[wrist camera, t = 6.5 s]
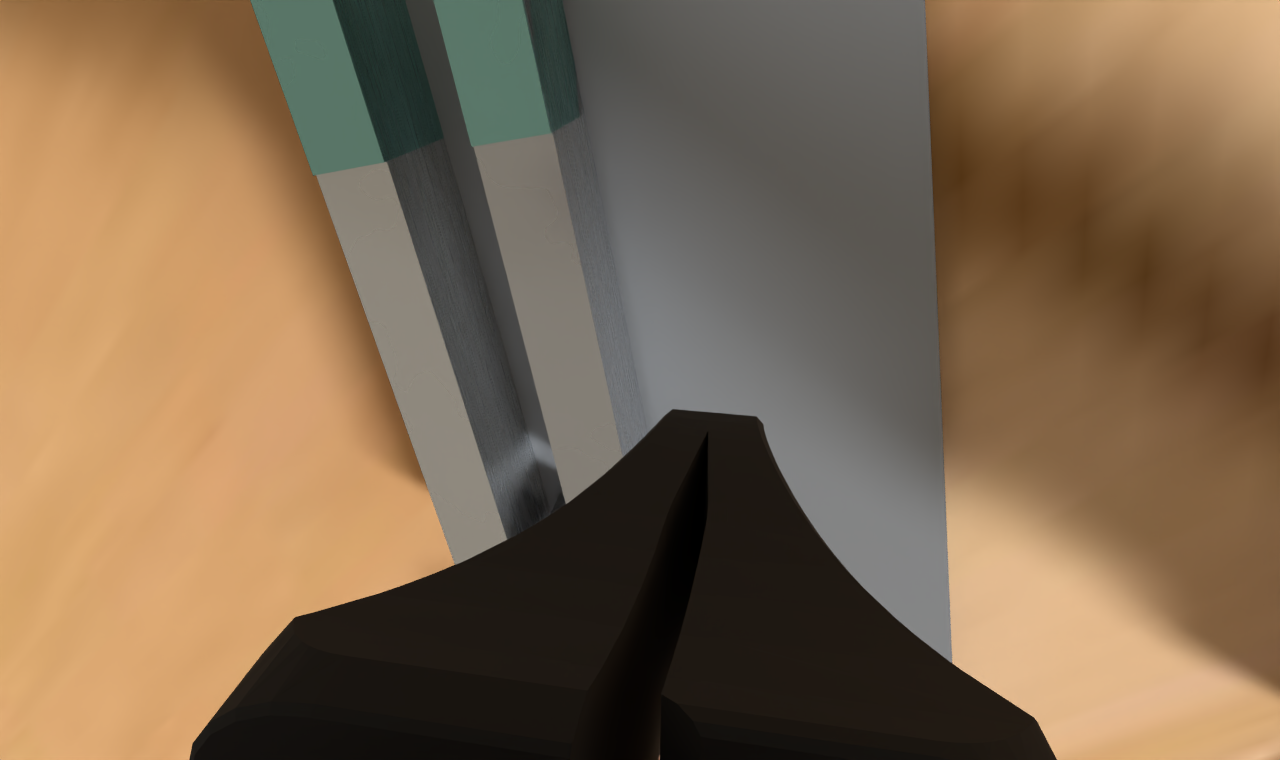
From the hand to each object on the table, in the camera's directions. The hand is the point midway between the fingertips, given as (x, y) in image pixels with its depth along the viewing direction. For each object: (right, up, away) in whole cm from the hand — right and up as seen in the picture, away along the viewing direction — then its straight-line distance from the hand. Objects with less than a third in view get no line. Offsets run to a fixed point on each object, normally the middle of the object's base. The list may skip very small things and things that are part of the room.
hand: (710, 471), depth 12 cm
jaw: (-3, +5, +7) cm, 9 cm away
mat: (0, +1, +9) cm, 9 cm away
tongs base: (-3, +1, +10) cm, 10 cm away
